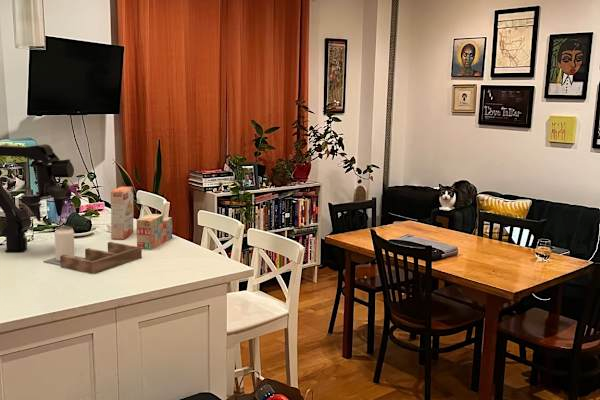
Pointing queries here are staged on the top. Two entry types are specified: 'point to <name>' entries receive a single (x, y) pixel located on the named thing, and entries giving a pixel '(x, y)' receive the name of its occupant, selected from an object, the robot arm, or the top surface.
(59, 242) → the can
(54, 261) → the mat
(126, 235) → the cracker box
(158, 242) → the stack of blocks
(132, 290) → the top surface
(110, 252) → the shelf lanes
